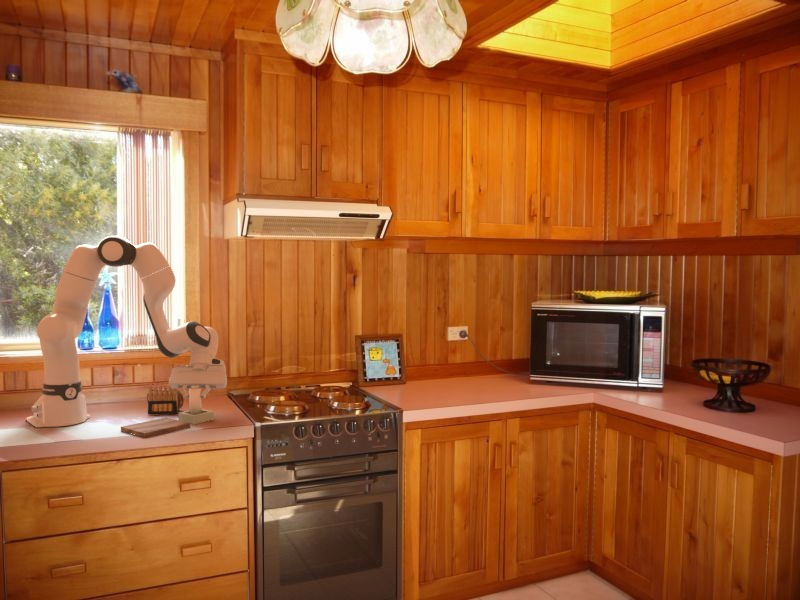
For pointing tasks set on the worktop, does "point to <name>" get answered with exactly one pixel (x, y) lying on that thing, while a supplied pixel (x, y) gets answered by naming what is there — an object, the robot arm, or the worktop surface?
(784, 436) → the worktop surface
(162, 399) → the ammunition clip
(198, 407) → the pepper mill
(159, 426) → the cutting board
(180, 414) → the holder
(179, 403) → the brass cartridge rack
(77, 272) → the robot arm
